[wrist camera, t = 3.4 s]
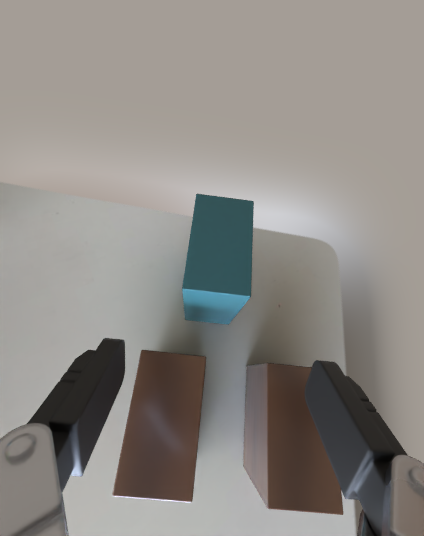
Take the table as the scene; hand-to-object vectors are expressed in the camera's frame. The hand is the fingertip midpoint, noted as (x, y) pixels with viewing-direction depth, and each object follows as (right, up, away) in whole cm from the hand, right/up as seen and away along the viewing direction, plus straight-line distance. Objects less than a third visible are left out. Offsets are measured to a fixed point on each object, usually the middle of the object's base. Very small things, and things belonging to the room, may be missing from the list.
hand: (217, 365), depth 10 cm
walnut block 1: (-4, -8, +12) cm, 15 cm away
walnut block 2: (+5, -9, +12) cm, 16 cm away
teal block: (0, +2, +17) cm, 17 cm away
